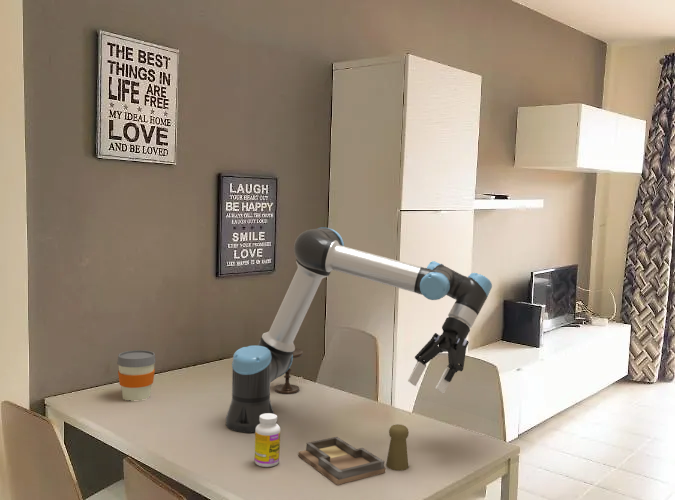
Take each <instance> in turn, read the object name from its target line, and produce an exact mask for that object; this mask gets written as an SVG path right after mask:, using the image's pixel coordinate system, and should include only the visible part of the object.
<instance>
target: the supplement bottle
mask: <svg viewBox="0 0 675 500" xmlns="http://www.w3.org/2000/svg"><path fill="white" fill-rule="evenodd" d="M259 421H260V424H258V425H257V426H256V429H255V432H254V434H255V435H254V436H255V437H254V463H255V465H257V466H259V467H263V468H271V467H275V466H277V465H278V464H279V462H280V455H281V454H280V453H281V452H280V450H281V449H280V448H281V427H280V425H279V424H278V423H277V421H278V415H277V414H275V413H274V414H272V413H265V414H261V415H260V418H259Z"/></svg>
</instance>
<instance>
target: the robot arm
mask: <svg viewBox="0 0 675 500" xmlns="http://www.w3.org/2000/svg"><path fill="white" fill-rule="evenodd" d="M293 254H294V257H295V259H296V260H295V263H296V266H297V269H296V271H295V273H294V276H293V278H292V279H291V282H290V284H289V287H288V289H287V290H286V293H285V295H284V298H283V300H282V301H281V304H280V306H279V308H278V311H277V313H276V315H275V318H274V319H273V322H272V323H271V325H270V328H269V331H267V332H264V333H262V335H261V338H260V339H259V342H258V344H257V345H248V346H243V347H240V348H239V349H237V350H236V351H235V352H234V353H233V355H232V356H233V357H232V363H231V368H232V371H231V372H232V373H231V374H232V375H231V377H232V381H231V383H232V385H231V389H232V390H231V402H230V404H229V408H228V410H227V412H226V417H225V426H226V428H228V429H229V430H232V431H234V432H239V433H255V429H256V426H257V425H258V424H260V421H259V418H260V415H261V414H265V413H272V414H275V412H274V408H273V406H272V402H271V383H272V382H273V381H275V380H277V379H278V378H280V377H282V376H284V374H285V372H287V371H288V369H289V368H290V369H291V366H292V364H293V359H294V358H293V352H294V350H295V348H296V346H295V344H294V343H295V342H294V341H295V339H296V336H297V334H298V332H299V330H300V328H301V326H302V324H303V321H304V319H305V318H306V315H307V313H308V311H309V308H310V307H311V304H312V302H313V300H314V298H315V295H316V293H317V291H318V288H319V287H320V285H321V283H322V280H323V279H324V278H328V277H329V276H330V275H331V272H332V271H336V272H338V273H339V272H340V273H342V274H345V275H346V274H347V275H351V276H354V277H358V278H361V279H365V280H367V281H368V280H369V281H371V282H374V283H375V282H376V283H379V284H383V285H387V286H389V287H394V288H397V289H402V290H404V291H409V292H411V293H415V294H418V295H422V296H423V297H424V298H426V299H427V300H431V301H439V300H441V299H442V298H445V296H447V297H450V298H451V299H453V300H455V302H454V304H453V305H452V307H451V308H450V311H449V313H448V314H447V316H448V317H446V318H445V321H444V322H443V323H442V326H441V329H442V333H441V334H438V333H436V332H435V333H434V334H433V335H432V337H431V338H430V339H429V341H428V342H427V343H426V344H425V345H424V346H422V348H421V349H420V350H419V351H418V352H417V353H416V355H415V356H414V359H415V360H416V364H415V366H414V367H413V370H412V373H411V374H410V376H409V378H408V379H407V382H409V383H410V384H411V385H413V386H414V387H416V386H417V385H418V382H419V381H420V379H421V376H422V375H423V373H424V372H425V369H426V367H427V363H429V362H430V361H432V360H433V359H434V358H435V357H437V356H438V355H439V354H442V353H443V352H444V353H447V356H448V365H446V366H447V367H445V368H444V371H443V373H442V375H441V376H440V378H439V381H438V382H437V384H436V386H435V388H434V389H436V390H437V391H438V392H440V393H441V394H445V392H446V390H447V389H448V386H449V385H450V383H451V381H452V380H453V378H454V376H455V374H457V373H458V372H462V371H463V370H464V368H465V367H464V365H465V359H466V352H467V348H468V345H469V340H467V337H468V335H469V333H470V331H471V328H473V325H474V323H475V321H476V319H477V318H478V316H479V314H480V312H481V310H482V308H483V307H484V304H485V303H486V301H487V300H488V298H489V295H490V292H491V290H492V288H493V283H492V281H491V280H490V279H489V278H488V277H486V276H485V275H483V274H481V273H477V272H471V273H470V274H469V275H468V276H466V275H463V274H461V273H459V272H457V271H455V270H454V269H452V268H450V267H447V266H446V265H444V264H443V263H439V262H437V261H433V260H431V262H429V264H428V265H427V266H426V267H422V266H419V265H416V264H412V263H408V262H405V261H401V260H396V259H393V258H389V257H385V256H382V255H379V254H374V253H372V252H367V251H363V250H359V249H356V248H351V247H348V246H345V243H344V240H343V238H342V236H341V234H340V233H339V232H337V230H335V229H333V228H329V227H325V226H324V227H323V226H322V227H318V228H312V229H307V230H304V231H303V232H301V233H300V234H299V235H297V237H296V239H295V241H294V245H293Z"/></svg>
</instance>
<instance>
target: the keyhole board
mask: <svg viewBox="0 0 675 500" xmlns="http://www.w3.org/2000/svg"><path fill="white" fill-rule="evenodd" d="M305 448H306V449H304V450H300V451H298V454H297V455H298V457H299V458H301V460H303V461H304V462H305V463H307V464H308V465H309V466H311V467H312V468H314V469H315V470H316V471H318V472H319V473H321V474H322V475H323V476H324V477H326V478H327V479H328V480H330V481H331V482H332V483H334V484H335V485H336V486H338V485H342V484H346V483H350V482H354V481H358V480H362V479H366V478H370V477H373V476H377V475H381V474H385V473H386V467H385V461H384V460H383V459H382V458H380V457H379V456H376V455H375V454H374V453H372V452H370V451H369V450H367V449H366V448H363V447H360V448H355V446H353V445H350V444H349V443H348V442H346V441H344V440H343V439H341V438H340V437H338V436H334V437H328V438H324V439H318V440H313V441H309V442H306V447H305Z"/></svg>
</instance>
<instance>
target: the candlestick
mask: <svg viewBox="0 0 675 500" xmlns="http://www.w3.org/2000/svg"><path fill="white" fill-rule="evenodd" d="M302 356H304V351H303V350H302V349H301V348H296V347H295V350H294V352H293V359H296V358H300V357H302ZM291 372H292V368H291V367H290V368H289V369H288V371H287V372H285V375H283V377H284V379H285V383H283V384H277V385H276V386H274V392H275V393H277V394H280V395H294V394H297V393H299V392H300V386H299V385H296V384H292V383H290V378H292V376H291Z"/></svg>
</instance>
